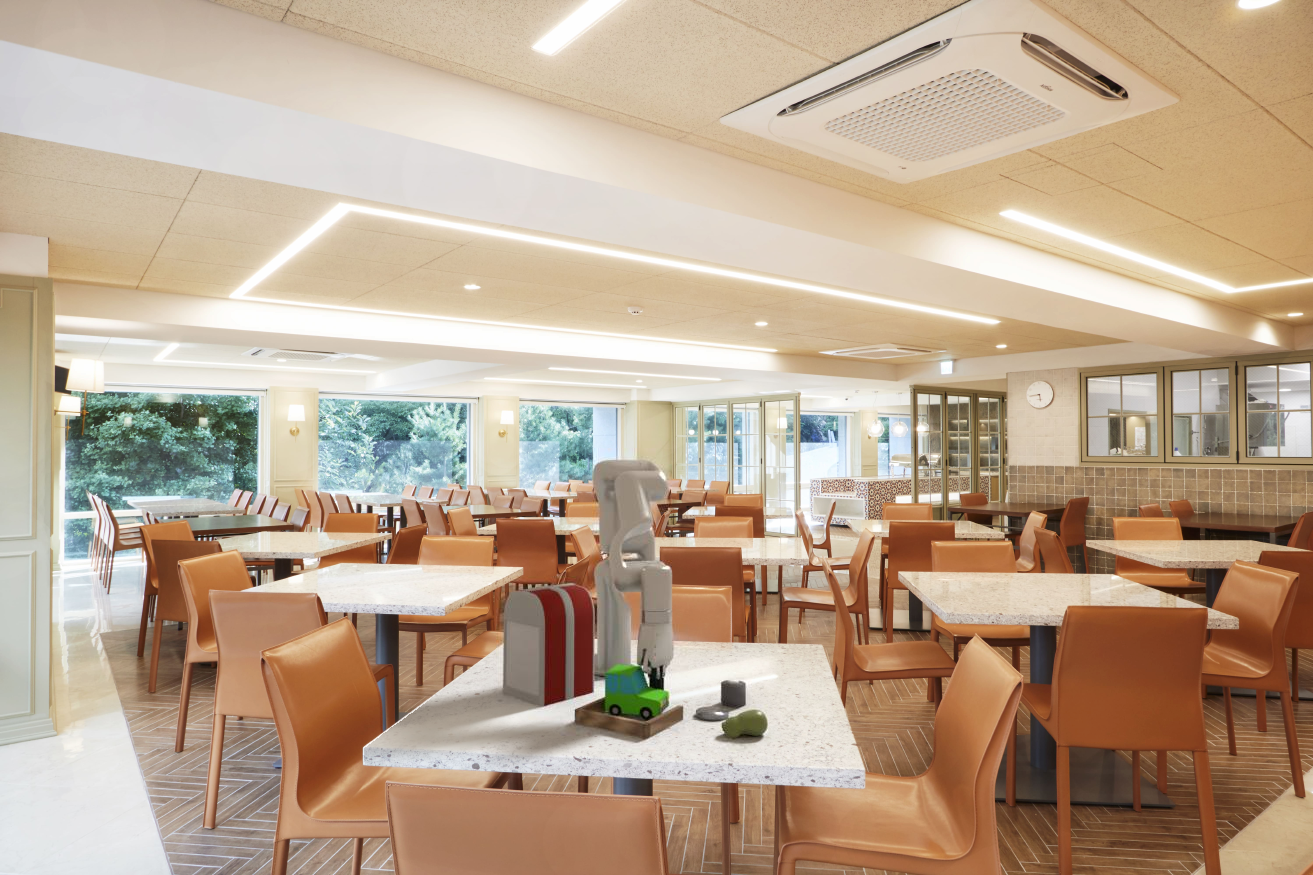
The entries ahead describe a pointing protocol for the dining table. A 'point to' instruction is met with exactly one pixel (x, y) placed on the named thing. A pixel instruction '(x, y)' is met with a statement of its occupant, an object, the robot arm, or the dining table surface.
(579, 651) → the red striped mailbox
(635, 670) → the toy car
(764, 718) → the pear
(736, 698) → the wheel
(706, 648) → the dining table surface
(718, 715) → the shallow metal dish
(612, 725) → the bay
